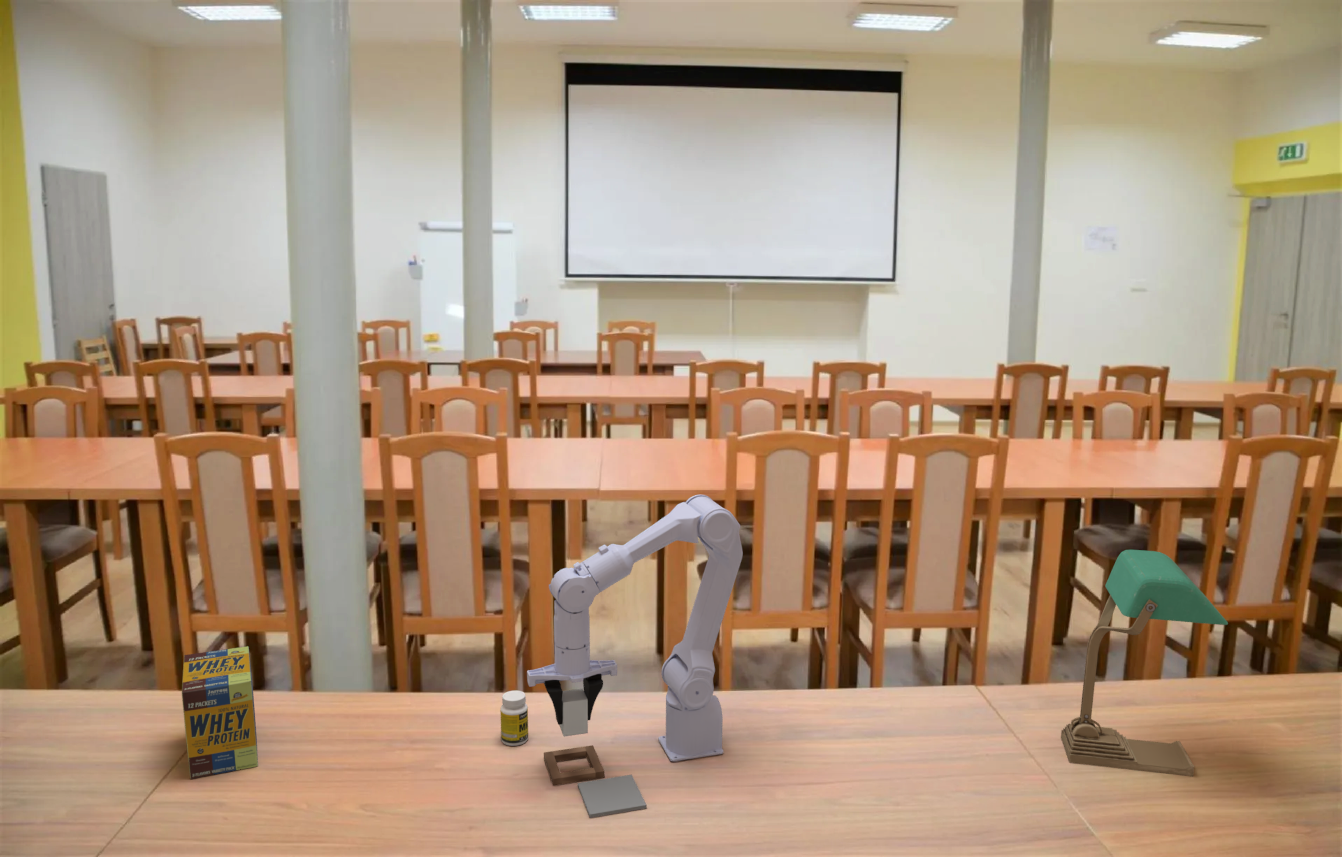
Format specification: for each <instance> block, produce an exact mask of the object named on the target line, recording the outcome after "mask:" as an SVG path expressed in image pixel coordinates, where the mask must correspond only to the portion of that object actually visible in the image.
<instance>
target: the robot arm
mask: <svg viewBox="0 0 1342 857" xmlns="http://www.w3.org/2000/svg"><path fill="white" fill-rule="evenodd" d="M733 514H734V513H732V512H731V511H730V510H728V509H727V508H724V507H722V506H721V505H719V503H717V502H715V501H714V500H713V499H712V498H711V497H710V496H708V495H707V494H696V495H693V496H691V497H689V498H688V499H687V500H686V501H683V502H680V503H678V504H677V505H675V506H674V507H673V508H672V510H671V511H670V512H669V513H667V514H666V515H665V516H663V517H661V519H659V520H658V521H656V522H654V524H652V525H651V526H649V527H648V528H646V529H645V530H643V531H642V532H640V533H638V534H637V535H636V536H634V537H632V539H630V540H628V541H627V542H626V543H625V544H615V543H611V544H609V545H608V546H607V544H603V545H601V546H598V551H597V552H596V553H594V554H593V555H590V556H589V557H587V558H586V559H585V560H583V561H581V562H579V561H577V562H575V563H574V564H573V565H572V566H573V567H569V568H568V567H564V568H560V569H559V571H557V572H556V573H554V575H553V577H552V578H551V581H550V584H548V589H549V592H550V594H551V595H552V596H553V598H554V599H555V600H554V602H553V603H554V607H553V608H554V615H553V636H554V637H553V638H554V639H553V641H554V642H553V643H554V644H553V645H554V646H553V647H554V663H552V664H549V665H545V666H542V667H539V668H535V669H530V670H529V669H528V670H527V671H526V679H527V680H526V681H527V685H528V687H535V686H536V685H539V684H543V685H544V687H545V689H546V692H547V694H548V696H549V698H550V700H551V702H552V705H553V709H554V713H555V719H556V722H557V725H559V724H562V723H563V716H562V694H563V691H564V690H563V689H562V684H561V682H562V681H570V682H571V683H580V682H582V685H583V691H584V693H585V695H586V697H587V699H588V721H591V717H592V712H593V708H594V706H595V702H596V701H597V697H598V696H599V695H600V693H601V690H602V689H603V686H604V680H603V678H602V676H610V677H616V676H618V664H617V662H616V660H615V659H610V660H609V659H607V660H599V659H598V660H597V659H596V660H595V659H591V641H590V640H591V639H590V637H591V635H590V634H591V632H590V630H591V628H590V626H591V625H590V620H591V619H590V607H591V606H592V604H593V603H594V600H595V598H596V597H597V595H599V594H600V593H602V592H604V591H605V590H606V589H608V588H610V587H611V586H613V585H614V584H617V583H618V582H620V581H621V580H623V579H625V578H627V577H628V576H629V575H631V573H632V570H633V567H634V564H635V563H637V562H638V561H641V560H642V559H645V558H646V557H648V556H650V555H652V554H653V553H656V552H658V551H659V550H661V549H663V548H665V547H667V546H668V545H670V544H672V543H674V542H676V541H679V542H687V543H690V544H691V543H693V544H699V541H700V542H701V545H702V546H703V547H704V548H705V550H706V552H707V554H708V558H707V561H706V565H705V567H704V571H703V574H702V577H701V579H700V580H701V581H700V585H699V587H698V589H697V593H696V596H695V599H694V602H693V606H692V609H691V612H690V615H689V619H688V622H687V624H686V628H685V632H684V635H683V638H682V640H681V641H680V642H678V643H677V644H675V645H674V646H673V648H672V651H671V653H670V655H669V657H668V658H667V659H666V660H665V661H664V663H663V665H662V667H661V678H662V679H661V680H662V681H663V683H665V684H666V685H667V692H666V696H665V735H660V736H658V741H659V743H660V745H661V748H662V749H663V751H664V752H665V754H666V756H667V758H668V759H669V760H670V762H679V761H684V760H685V761H686V760H691V759H699V758H704V757H710V756H716V755H718V756H719V755H722V754H724V749H723V710H722V709H723V708H722V705H721V703H720V702H721V701H720V700H719V697H717V695H715V694H714V691H715V688H714V675H715V672H716V668H715V663H714V656H713V651H714V648H715V644H716V642H717V639H718V636H719V632H720V629H721V626H722V622H723V619H724V617H725V613H726V610H727V608H728V604H729V601H730V598H731V594H732V591H733V588H734V584H735V581H736V579H737V575H738V572H739V570H740V567H741V562H742V560H743V554H744V553H743V546H742V542H741V536H740V531H741V524H740V523H739V522H738V520H737V518H736V516H734V515H733Z"/></svg>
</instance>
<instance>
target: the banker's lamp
mask: <svg viewBox="0 0 1342 857" xmlns="http://www.w3.org/2000/svg"><path fill="white" fill-rule="evenodd" d="M1105 588H1106V590H1107V592H1108V593H1109V596H1108V598H1107V600H1106V603H1105V605H1104V608H1103V611H1102V613H1101V615H1100V618H1099V621H1098V622H1097V624H1096V625H1095V627H1094V629H1093V630H1092V631H1091V634H1090V635H1089V637H1088V638H1089V639H1088V641H1087V646H1086V655H1085V656H1086V657H1085V664H1084V665H1085V666H1084V674H1083V684H1082V693H1081V694H1082V695H1081V703H1080V714H1079V716H1078V717H1074V718H1072V719H1071V721H1070V723H1067V724H1066V726H1064V728H1063V729H1061V733H1060V739H1061V742H1062V745H1063V748H1064V752H1065V754H1066V757H1067V760H1068V763H1070V764H1077V765H1078V764H1079V765H1089V766H1096V767H1104V768H1105V767H1106V768H1113V769H1125V770H1132V771H1133V770H1134V771H1142V772H1143V771H1144V772H1149V773H1150V772H1151V773H1161V774H1169V775H1178V776H1186V777H1187V776H1188V777H1194V773H1195V772H1194V771H1195V765H1194V763H1193V762H1192V760H1191V758H1190V756H1189V755H1188V753H1187V751H1186V750H1185V748H1184V746H1183V744H1182V742H1181V741H1180V740H1175V741H1173V742H1161V741H1151V740H1150V741H1149V740H1144V739H1143V740H1141V739H1132V738H1127V737H1126V736H1124V735H1123V734H1121V733H1120V732H1119V731H1117V729H1114V728H1113V727H1105V726H1101V725H1100V723H1099V722H1097V720H1096V721H1095V720H1094V719H1092V715H1093V713H1092V712H1093V705H1094V703H1093V702H1094V694H1095V693H1094V692H1095V687H1096V686H1095V684H1096V675H1097V674H1096V673H1097V665H1098V654H1099V649H1100V645H1101V641H1102V640H1103V638H1104V636H1105V635H1106V634H1107V633H1109V632H1117V633H1123V634H1128V635H1131V636H1138V635H1140V634H1141V633H1142V632H1143V630H1144V628H1145V627H1146V625H1147V623H1148V621H1149V620H1158V621H1170V622H1173V621H1174V622H1181V623H1182V622H1183V623H1184V622H1185V623H1195V624H1206V625H1207V624H1208V625H1218V626H1227V625H1228V624H1229V623H1228V620H1226V618H1225V617H1224V616H1223V615H1222V614H1221V613H1220V611H1219V610H1218V609H1217V608H1216V606H1214V604H1213V603H1212V601H1210V600H1209V598H1208V597H1207V596H1206V595H1205V594H1204V593H1203V591H1202V590H1200V588H1199V587H1198V586H1197V585H1196V584H1195V583H1194V581H1192V579H1190V577H1189V576H1188V575H1187V574H1186V573H1185V572H1184V571H1183V569H1181V568H1180V567H1179V566H1178V565H1177V563H1176V562H1175V561H1174V560H1173V559H1172V558H1171V557H1169V556H1168V555H1167V554H1165V553H1162V552H1160V551H1155V550H1143V549H1142V550H1139V549H1125V550H1123V551H1121V552H1120V554H1119V555H1118V556H1117V559H1115V563H1114V565H1113V567H1112V568H1111V572H1110V573H1109V576H1108V579H1107V581H1106V583H1105ZM1116 607H1117V608H1118V610H1119V612H1120V614H1121V615H1123V617H1128V618H1133V619H1134V618H1136V619H1135V621H1134V623H1133V624H1132V625H1131V626H1130V627H1120V626H1119V627H1115V626H1109V624H1110V622H1111V619H1112V617H1113V614H1114V612H1115V609H1116Z"/></svg>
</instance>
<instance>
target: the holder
mask: <svg viewBox="0 0 1342 857" xmlns="http://www.w3.org/2000/svg"><path fill="white" fill-rule="evenodd" d="M585 758H586V760H587V762H588V765H589V767H590V768H582V769H577V770H569V771H563V772H561V771H560V768H559V765H558V762H564V761H572V760H577V759H585ZM543 760H544V764H545V766H546V769H547V773H548V775H549V778H550V781H551V784H552V787H553V786H554V787H556V786H559V785H560V786H561V785H567V784H572V783H581V782H587V781H593V780H600V779H606V778H605V776H606V775H605V769H604V766H603V765H602V762H601V760H600V757H599V755H598V753H597V751H596V749H595V747H594V745H592V744H591V745H586V746H578V747H572V748H571V747H570V748H566V749H557V750H552V751H544V752H543Z"/></svg>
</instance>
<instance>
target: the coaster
mask: <svg viewBox="0 0 1342 857" xmlns="http://www.w3.org/2000/svg"><path fill="white" fill-rule="evenodd" d="M577 788H578V791H579V793H580V796H581V799H582V802H583V803H584V806H585V809H586V811H587V815H588V817H589V819H592V818H597V817H603V816H604V817H605V816H609V815H615V814H616V815H617V814H621V813H628V812H633V811H639V810H645V809H647V807H648V806H647V803H646V800H645V799H644V797H643V795H642V792H641V790H640V789H639V787H638V784H637V782H636V781H635V778H634V776H633V774H627V775H620V776H613V777H607V778H600V779H593V780H587V781H581V782H577Z"/></svg>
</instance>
